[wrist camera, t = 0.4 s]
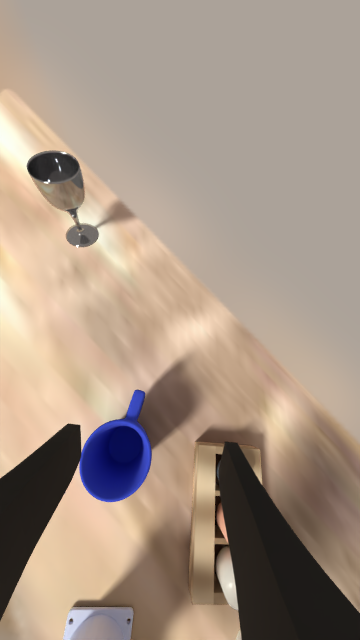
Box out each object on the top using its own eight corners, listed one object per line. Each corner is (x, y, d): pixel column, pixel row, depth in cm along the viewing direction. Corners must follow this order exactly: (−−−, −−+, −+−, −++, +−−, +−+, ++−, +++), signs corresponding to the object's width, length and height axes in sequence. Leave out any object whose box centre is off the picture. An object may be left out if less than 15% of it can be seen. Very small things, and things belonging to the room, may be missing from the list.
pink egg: (243, 534, 28) (254, 549, 25) (215, 533, 28) (223, 548, 25) (242, 498, 30) (252, 509, 27) (216, 497, 30) (223, 507, 27)
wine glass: (86, 253, 45) (57, 189, 31) (56, 238, 46) (15, 168, 32) (107, 231, 48) (89, 163, 35) (78, 217, 49) (50, 144, 35)
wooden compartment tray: (257, 585, 28) (269, 604, 26) (188, 584, 28) (192, 604, 25) (251, 445, 35) (260, 449, 32) (195, 441, 34) (198, 445, 31)
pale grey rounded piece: (245, 587, 26) (256, 610, 23) (215, 586, 26) (223, 610, 23) (243, 545, 28) (254, 562, 25) (215, 545, 28) (223, 562, 25)
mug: (165, 399, 36) (169, 398, 27) (141, 480, 31) (137, 512, 22) (121, 385, 36) (110, 380, 27) (90, 464, 31) (65, 490, 22)
